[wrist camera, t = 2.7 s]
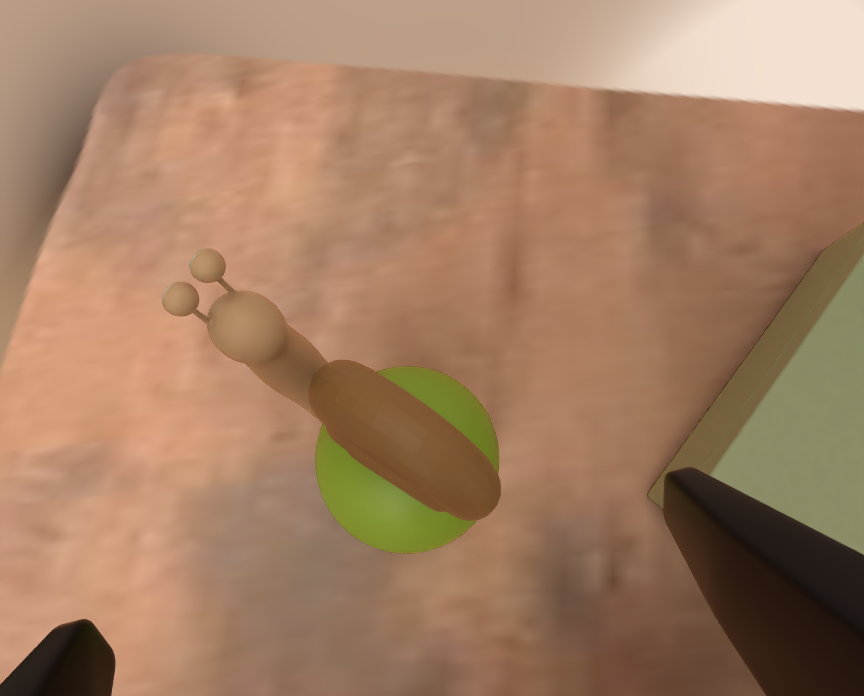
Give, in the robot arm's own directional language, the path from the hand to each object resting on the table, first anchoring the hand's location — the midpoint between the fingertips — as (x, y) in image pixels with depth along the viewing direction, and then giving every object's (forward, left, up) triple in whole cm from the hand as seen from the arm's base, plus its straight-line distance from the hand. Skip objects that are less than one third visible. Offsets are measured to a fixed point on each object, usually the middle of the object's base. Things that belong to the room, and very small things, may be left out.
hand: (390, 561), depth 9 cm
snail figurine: (+2, +1, -11) cm, 11 cm away
